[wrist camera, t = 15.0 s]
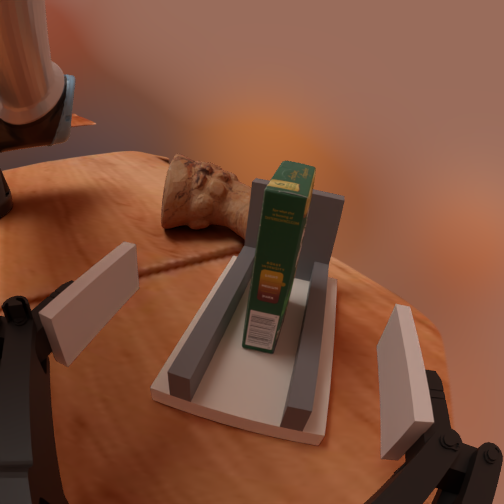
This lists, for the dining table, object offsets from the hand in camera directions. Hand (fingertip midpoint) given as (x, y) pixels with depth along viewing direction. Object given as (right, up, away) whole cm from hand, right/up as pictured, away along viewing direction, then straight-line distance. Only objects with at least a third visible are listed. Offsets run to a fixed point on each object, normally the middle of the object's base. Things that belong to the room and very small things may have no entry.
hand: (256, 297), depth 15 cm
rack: (+1, -5, +13) cm, 14 cm away
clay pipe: (-6, +4, +30) cm, 31 cm away
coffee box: (+1, -4, +12) cm, 13 cm away
